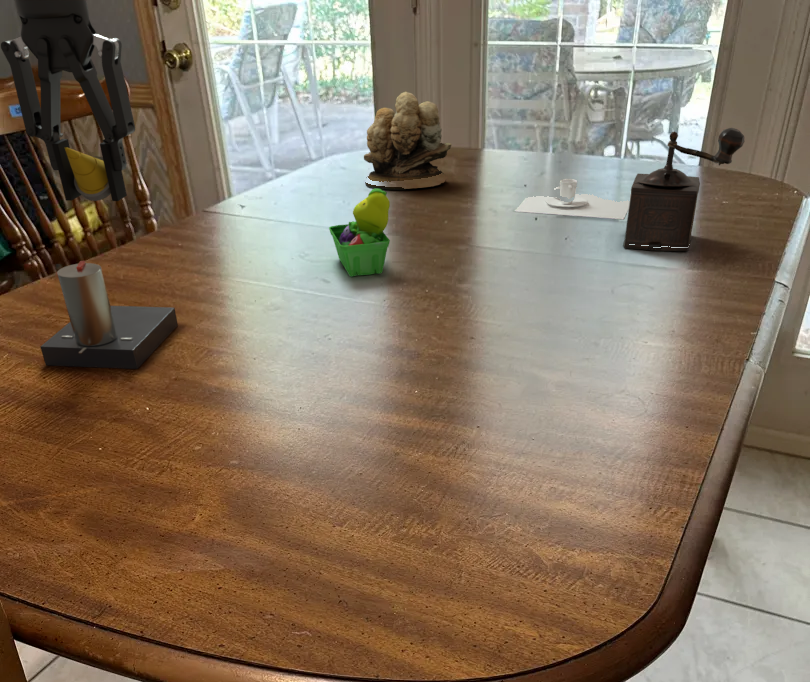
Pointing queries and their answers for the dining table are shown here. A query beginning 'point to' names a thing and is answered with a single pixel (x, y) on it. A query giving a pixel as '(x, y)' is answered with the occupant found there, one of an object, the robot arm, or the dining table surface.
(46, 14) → the robot arm
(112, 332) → the shiny metal cylinder
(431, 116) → the owl figurine
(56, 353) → the dial base
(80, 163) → the yellow ridged cone
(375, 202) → the fruit basket
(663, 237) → the manual coffee grinder
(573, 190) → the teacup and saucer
